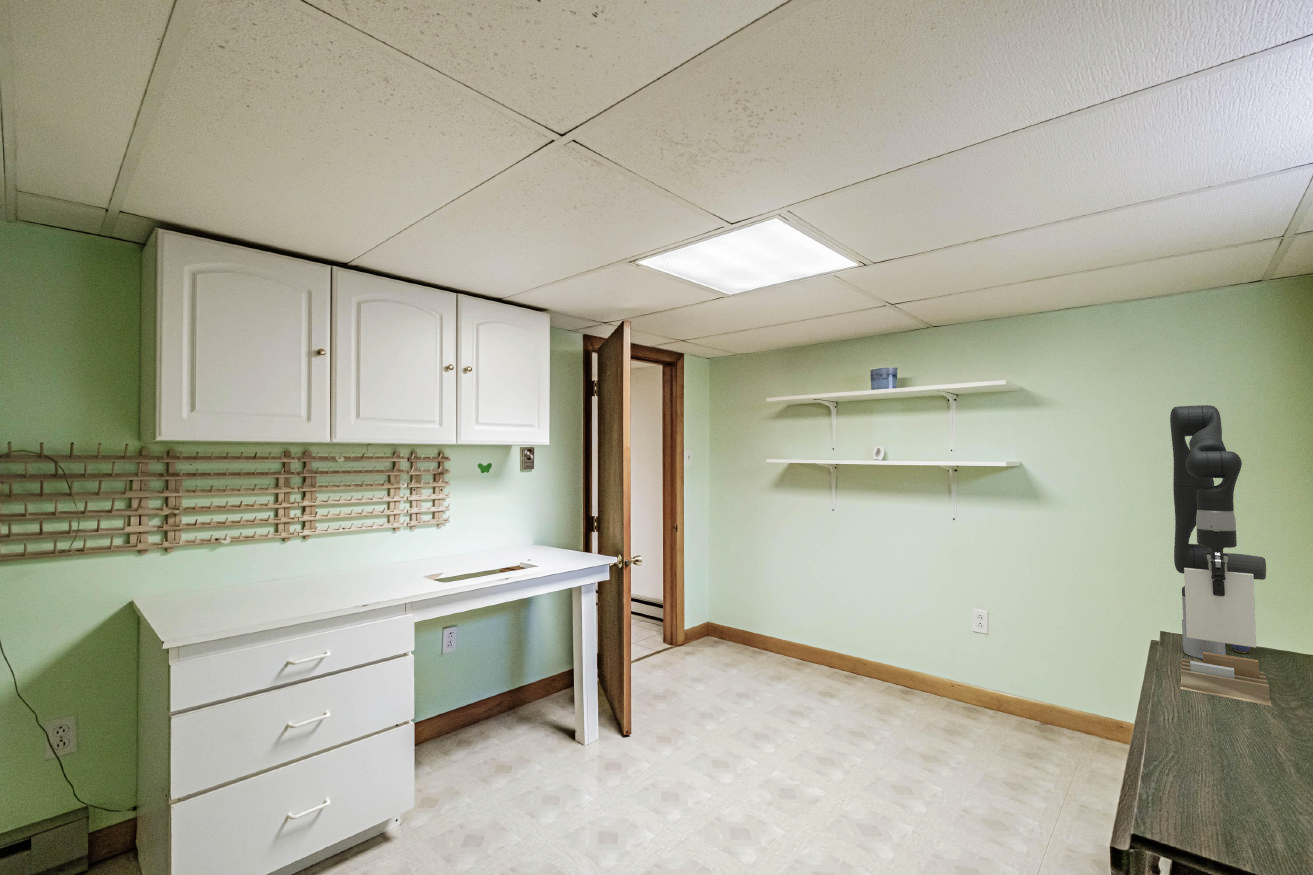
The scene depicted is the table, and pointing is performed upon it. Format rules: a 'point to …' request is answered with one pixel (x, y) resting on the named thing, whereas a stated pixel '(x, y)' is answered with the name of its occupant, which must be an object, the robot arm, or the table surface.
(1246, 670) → the offcut oak
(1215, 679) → the rack
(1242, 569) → the rubber mallet
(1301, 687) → the table surface
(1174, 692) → the table surface
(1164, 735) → the table surface
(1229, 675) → the offcut grey
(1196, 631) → the sheet
